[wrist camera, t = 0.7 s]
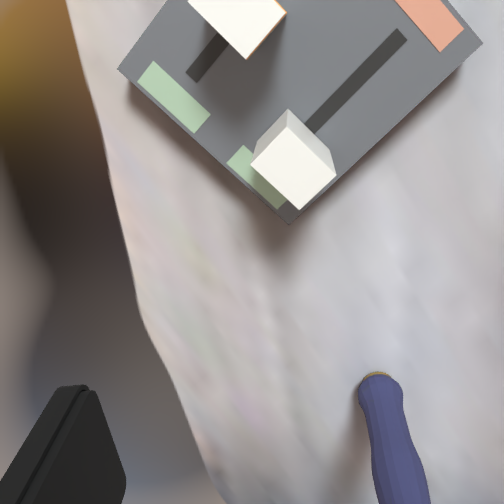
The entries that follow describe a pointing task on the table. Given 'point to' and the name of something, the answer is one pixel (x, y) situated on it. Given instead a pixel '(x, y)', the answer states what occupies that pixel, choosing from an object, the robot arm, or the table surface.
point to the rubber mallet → (391, 443)
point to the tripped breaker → (241, 20)
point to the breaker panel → (298, 86)
